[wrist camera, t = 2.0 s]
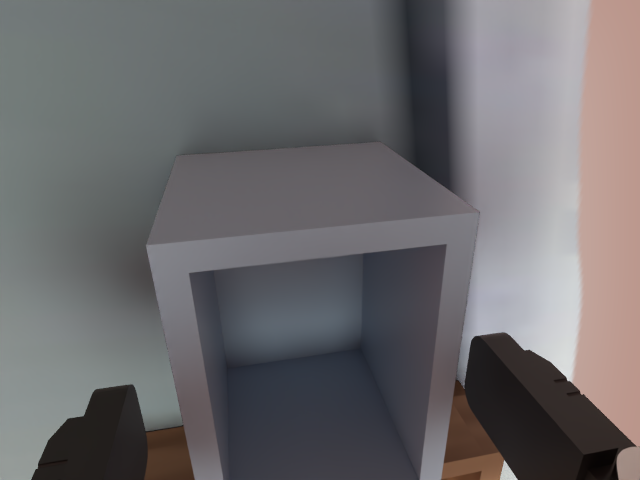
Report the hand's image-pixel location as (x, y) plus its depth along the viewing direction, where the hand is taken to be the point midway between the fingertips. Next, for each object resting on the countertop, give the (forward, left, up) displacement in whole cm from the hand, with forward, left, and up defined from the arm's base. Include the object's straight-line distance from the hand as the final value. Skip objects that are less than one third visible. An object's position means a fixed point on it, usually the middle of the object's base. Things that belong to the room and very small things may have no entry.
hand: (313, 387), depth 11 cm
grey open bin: (-1, 0, -5) cm, 5 cm away
